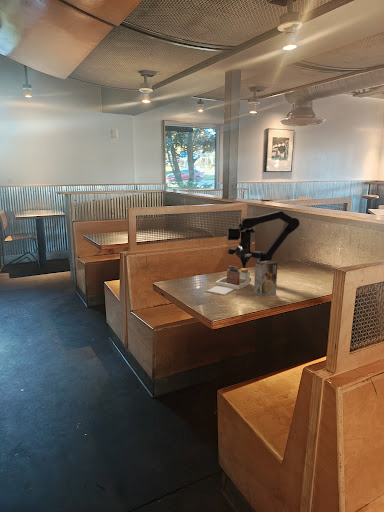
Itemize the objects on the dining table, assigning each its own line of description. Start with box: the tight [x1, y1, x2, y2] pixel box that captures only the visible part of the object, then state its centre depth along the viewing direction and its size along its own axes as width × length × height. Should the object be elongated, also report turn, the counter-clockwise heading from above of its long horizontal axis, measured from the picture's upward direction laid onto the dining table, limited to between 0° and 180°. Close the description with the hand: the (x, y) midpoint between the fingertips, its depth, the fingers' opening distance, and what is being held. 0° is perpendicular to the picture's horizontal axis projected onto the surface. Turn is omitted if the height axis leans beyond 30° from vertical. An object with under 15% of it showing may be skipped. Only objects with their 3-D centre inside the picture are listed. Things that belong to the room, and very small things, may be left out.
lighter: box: [225, 265, 241, 285], centre depth 193 cm, size 8×3×10 cm, turn 47°
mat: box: [206, 285, 235, 296], centre depth 182 cm, size 10×10×1 cm
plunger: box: [240, 267, 249, 273], centre depth 202 cm, size 4×4×4 cm
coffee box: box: [253, 260, 278, 297], centre depth 177 cm, size 9×6×16 cm
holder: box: [215, 270, 252, 291], centre depth 197 cm, size 14×22×4 cm, turn 147°
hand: (244, 267), depth 202 cm, fingers closed
